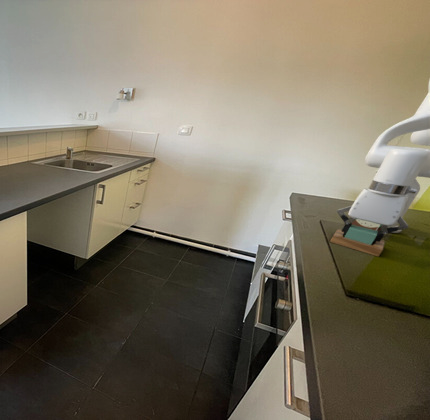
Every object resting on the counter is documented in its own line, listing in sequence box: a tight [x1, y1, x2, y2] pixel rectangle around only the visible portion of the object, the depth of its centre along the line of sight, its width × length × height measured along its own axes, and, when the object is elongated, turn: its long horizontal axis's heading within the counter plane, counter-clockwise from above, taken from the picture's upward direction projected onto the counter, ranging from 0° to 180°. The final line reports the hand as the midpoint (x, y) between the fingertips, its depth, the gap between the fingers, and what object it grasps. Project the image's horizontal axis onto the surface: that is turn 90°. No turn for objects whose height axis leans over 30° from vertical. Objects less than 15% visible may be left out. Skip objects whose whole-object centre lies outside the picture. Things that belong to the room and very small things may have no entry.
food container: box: [351, 219, 381, 231], centre depth 94 cm, size 12×6×10 cm, turn 168°
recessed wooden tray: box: [329, 228, 385, 257], centre depth 85 cm, size 11×11×2 cm
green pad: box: [345, 225, 378, 245], centre depth 84 cm, size 6×6×4 cm
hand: (358, 237), depth 84 cm, fingers closed on green pad, 6 cm apart
